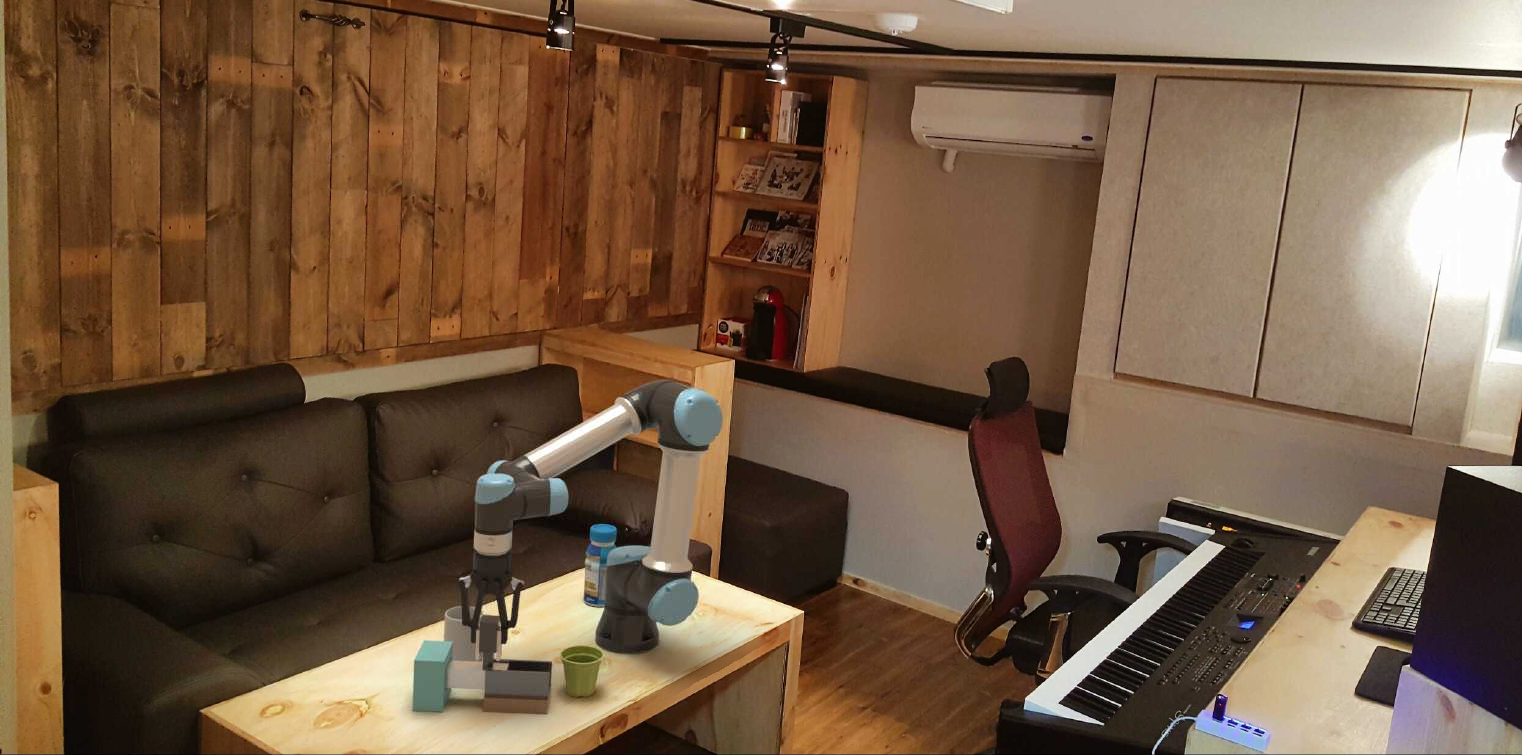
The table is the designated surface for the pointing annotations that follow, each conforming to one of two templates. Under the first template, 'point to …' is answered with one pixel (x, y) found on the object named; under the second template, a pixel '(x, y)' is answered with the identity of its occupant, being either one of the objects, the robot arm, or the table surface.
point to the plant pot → (581, 669)
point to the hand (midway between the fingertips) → (488, 657)
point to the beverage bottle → (598, 563)
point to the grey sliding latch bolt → (474, 671)
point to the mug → (460, 634)
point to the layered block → (518, 687)
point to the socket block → (431, 675)
